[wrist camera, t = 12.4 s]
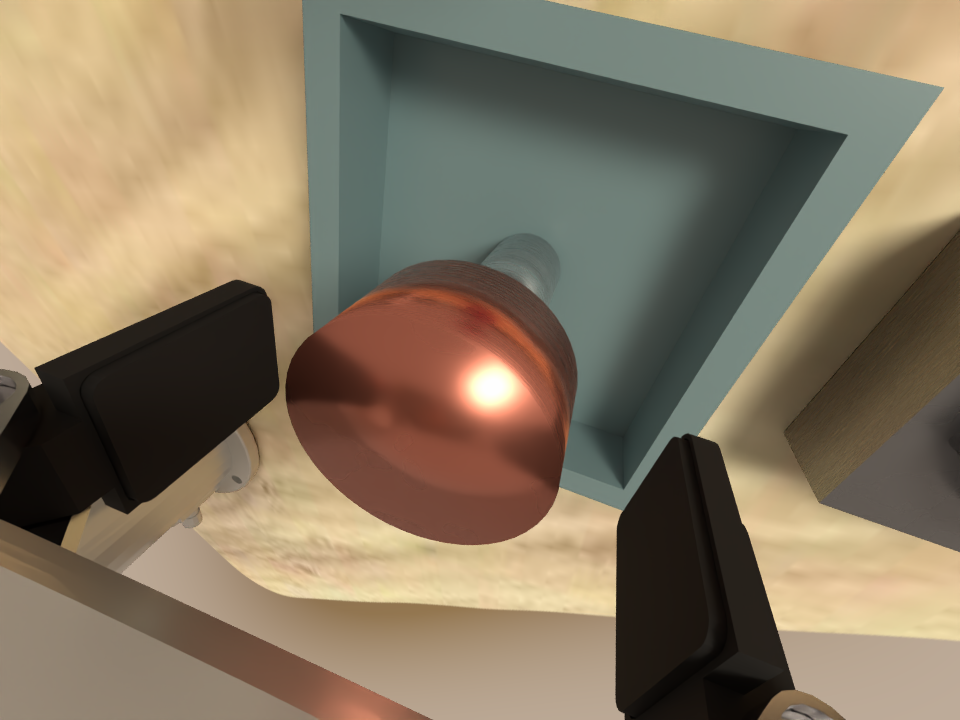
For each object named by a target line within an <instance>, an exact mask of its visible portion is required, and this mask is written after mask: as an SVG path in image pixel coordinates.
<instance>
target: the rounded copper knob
mask: <svg viewBox="0 0 960 720" xmlns="http://www.w3.org/2000/svg"><path fill="white" fill-rule="evenodd" d="M560 272H561V268H560V261H559V258H558V255H557V253H556V251H555V250H554V248H553V247H552V246H551V245H550V244H549V243H548V242H547V241H546V240H544V239H543V238H541V237H539V236H536V235H533V234H528V233H520V234H515V235H512V236H509V237H507V238H506V239H504V240H503V241H502V242H501V243H499V245H498V246H497V247H496V248H495V249H494V250H493V251H492V252H491V253H490V255H489V256H488V257H487V258H486V259H485V260H484V261H483V262H482V263H481V264H476V263H472V262H468V261H460V260H432V261H426V262H421V263H418V264H414V265H411V266H408V267H406V268H404V269H402V270H400V271H398V272H396V273H395V274H393V275H392V276H391V277H389V278H388V279H386V280H385V281H384V282H382V283H381V284H380V285H378V286H377V287H376V288H374V289H373V290H372V291H370V292H369V293H368V294H366V295H365V296H364V297H362V298H361V299H359V300H358V301H357V302H355V303H354V304H353V305H351V306H350V307H349V308H347V309H346V310H345V311H343V312H342V313H341V314H339V315H338V316H336V317H335V318H334V319H332V320H331V321H330V322H328V323H327V324H326V325H324V326H323V327H322V328H320V329H319V330H318V331H316V332H315V333H314V334H312V335H311V336H310V337H308V338H307V339H306V340H305V341H304V342H303V344H302V345H301V346H300V347H299V348H298V349H297V351H296V353H295V355H294V356H293V358H292V360H291V363H290V366H289V369H288V372H287V378H286V402H287V408H288V413H289V416H290V419H291V423H292V426H293V428H294V430H295V432H296V435H297V437H298V439H299V441H300V443H301V444H302V446H303V448H304V450H305V451H306V453H307V454H308V456H309V457H310V459H311V460H312V461H313V463H314V464H315V465H316V467H317V468H318V469H319V470H320V471H321V473H322V474H323V475H324V476H325V477H326V478H327V479H328V480H329V481H330V482H331V483H332V484H333V485H334V486H335V487H336V488H337V489H338V490H339V491H340V492H342V493H343V494H344V495H345V496H346V497H347V498H349V499H350V500H351V501H353V502H354V503H355V504H357V505H358V506H359V507H361V508H362V509H364V510H365V511H367V512H369V513H370V514H372V515H373V516H375V517H377V518H379V519H380V520H382V521H384V522H386V523H388V524H390V525H392V526H394V527H396V528H399V529H401V530H403V531H406V532H409V533H411V534H414V535H417V536H420V537H423V538H427V539H430V540H435V541H439V542H444V543H451V544H459V545H482V544H491V543H497V542H502V541H505V540H508V539H512V538H515V537H517V536H519V535H521V534H523V533H525V532H527V531H528V530H530V529H531V528H533V527H534V526H535V525H537V524H538V523H539V522H540V521H541V520H542V519H543V518H544V517H545V516H546V514H547V513H548V511H549V510H550V508H551V507H552V505H553V503H554V501H555V498H556V496H557V493H558V490H559V484H560V479H561V473H562V468H563V462H564V457H565V451H566V446H567V441H568V435H569V430H570V424H571V419H572V413H573V408H574V403H575V397H576V391H577V385H578V371H577V365H576V358H575V355H574V351H573V348H572V345H571V342H570V340H569V338H568V336H567V334H566V332H565V330H564V328H563V327H562V325H561V323H560V322H559V320H558V319H557V317H556V316H555V315H554V313H553V312H552V311H551V310H550V309H549V307H548V306H549V304H550V301H551V299H552V296H553V294H554V291H555V288H556V286H557V283H558V281H559V278H560Z"/></svg>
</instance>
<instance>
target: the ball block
mask: <svg viewBox="0 0 960 720" xmlns="http://www.w3.org/2000/svg"><path fill="white" fill-rule="evenodd" d="M784 435H785V436H786V438H787V440H788V442H789V444H790V446H791V448H792V450H793V452H794V454H795V456H796V458H797V460H798V462H799V464H800V466H801V468H802V470H803V472H804V474H805V476H806V478H807V480H808V482H809V484H810V486H811V488H812V490H813V492H814V494H815V496H816V498H817V500H818V502H819V503H821V504H824V505H826V506H829V507H832V508H835V509H838V510H841V511H844V512H846V513H849V514H852V515H855V516H858V517H861V518H864V519H867V520H869V521H872V522H875V523H878V524H881V525H884V526H887V527H889V528H892V529H895V530H898V531H901V532H904V533H907V534H910V535H912V536H915V537H918V538H921V539H924V540H927V541H930V542H932V543H935V544H938V545H941V546H944V547H947V548H950V549H953V550H955V551H958V552H960V231H959V232H958V234H957V235H956V236H955V237H954V238H953V239H952V241H951V242H950V243H949V244H948V245H947V246H946V247H945V249H944V250H943V251H942V252H941V253H940V254H939V255H938V257H937V258H936V259H935V260H934V261H933V262H932V263H931V265H930V266H929V267H928V268H927V269H926V270H925V271H924V273H923V274H922V275H921V276H920V277H919V278H918V279H917V281H916V282H915V283H914V284H913V285H912V286H911V287H910V289H909V290H908V291H907V292H906V293H905V294H904V295H903V297H902V298H901V299H900V300H899V301H898V302H897V304H896V305H895V306H894V307H893V308H892V309H891V310H890V312H889V313H888V314H887V315H886V316H885V317H884V318H883V320H882V321H881V322H880V323H879V324H878V325H877V326H876V328H875V329H874V330H873V331H872V332H871V333H870V334H869V336H868V337H867V338H866V339H865V340H864V341H863V342H862V344H861V345H860V346H859V347H858V348H857V349H856V350H855V352H854V353H853V354H852V355H851V356H850V357H849V358H848V360H847V361H846V362H845V363H844V364H843V365H842V367H841V368H840V369H839V370H838V371H837V372H836V373H835V375H834V376H833V377H832V378H831V379H830V380H829V381H828V383H827V384H826V385H825V386H824V387H823V388H822V389H821V391H820V392H819V393H818V394H817V395H816V396H815V397H814V399H813V400H812V401H811V402H810V403H809V404H808V405H807V407H806V408H805V409H804V410H803V411H802V412H801V413H800V415H799V416H798V417H797V418H796V419H795V420H794V421H793V423H792V424H791V425H790V426H789V427H788V428H787V430H786V431H785V432H784Z"/></svg>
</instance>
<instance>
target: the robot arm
mask: <svg viewBox="0 0 960 720" xmlns="http://www.w3.org/2000/svg"><path fill="white" fill-rule="evenodd" d="M35 370H36V372H37V374H38V376H39V378H40V380H41V382H42V384H41V385H38V386H36V387H34V388H32V387H31V385H30V383H29V382H28V380H27V378H26V376H24V375H22V374H20V373H18V372H15V371H10V370H4V369H0V720H432V719H430V718H428V717H425V716H423V715H421V714H419V713H417V712H415V711H413V710H411V709H409V708H406V707H404V706H402V705H400V704H398V703H396V702H394V701H392V700H390V699H387V698H385V697H383V696H381V695H379V694H377V693H375V692H373V691H371V690H368V689H366V688H364V687H362V686H360V685H358V684H356V683H354V682H351V681H349V680H347V679H345V678H343V677H341V676H339V675H337V674H334V673H332V672H330V671H328V670H326V669H324V668H322V667H320V666H317V665H315V664H313V663H311V662H309V661H306V660H305V659H302V658H300V657H298V656H296V655H294V654H292V653H289V652H287V651H285V650H283V649H281V648H279V647H277V646H275V645H272V644H270V643H268V642H266V641H264V640H262V639H259V638H257V637H255V636H253V635H251V634H249V633H247V632H244V631H242V630H240V629H238V628H236V627H234V626H232V625H230V624H227V623H225V622H223V621H221V620H219V619H217V618H214V617H212V616H210V615H208V614H206V613H204V612H201V611H199V610H197V609H195V608H193V607H191V606H189V605H186V604H184V603H182V602H180V601H178V600H176V599H173V598H171V597H169V596H167V595H165V594H163V593H161V592H159V591H156V590H154V589H152V588H150V587H148V586H146V585H143V584H141V583H139V582H137V581H135V580H132V579H130V578H128V577H126V576H124V575H122V574H121V573H122V572H123V571H124V570H125V569H127V567H128V566H130V565H131V564H132V563H133V562H134V561H135V560H136V559H137V558H138V557H139V556H141V555H142V554H143V553H144V552H145V551H146V550H147V549H148V548H149V547H150V546H151V545H152V544H153V543H155V542H156V541H157V539H159V538H160V537H161V536H162V535H163V534H164V533H165V532H166V531H167V530H169V529H170V528H171V527H173V526H175V525H177V524H178V523H182V524H183V526H184V527H185V528H193V527H196V526H197V525H199V524H200V523H201V521H202V514H201V511H200V508H199V506H200V505H201V504H202V503H204V502H205V501H206V500H207V499H208V498H209V497H210V496H211V495H212V494H213V493H214V492H218V493H230V492H234V491H238V490H240V489H242V488H243V487H245V486H246V485H247V484H248V483H249V482H250V481H251V480H252V478H253V477H254V476H255V475H256V473H257V470H258V467H259V455H258V448H257V445H256V443H255V440H254V437H253V435H252V433H251V431H250V429H249V428H248V426H247V424H246V422H247V421H248V420H249V419H250V418H251V417H253V416H254V415H255V414H256V413H257V412H259V411H260V410H261V409H262V408H263V407H265V406H266V405H267V404H268V403H269V402H271V401H272V400H273V399H274V398H275V396H276V395H277V393H278V390H279V377H278V366H277V356H276V346H275V336H274V326H273V315H272V305H271V300H270V298H269V297H268V296H267V294H266V292H265V290H264V289H263V288H261V287H259V286H256V285H253V284H250V283H247V282H244V281H241V280H234V281H231V282H228V283H226V284H224V285H222V286H219V287H217V288H215V289H212V290H210V291H208V292H206V293H203V294H201V295H199V296H197V297H194V298H192V299H190V300H187V301H185V302H183V303H181V304H178V305H176V306H174V307H172V308H169V309H167V310H165V311H163V312H160V313H158V314H156V315H153V316H151V317H149V318H147V319H144V320H142V321H140V322H138V323H135V324H133V325H131V326H129V327H126V328H124V329H122V330H119V331H117V332H115V333H113V334H110V335H108V336H106V337H104V338H101V339H99V340H97V341H94V342H92V343H90V344H88V345H85V346H83V347H81V348H79V349H76V350H74V351H72V352H70V353H67V354H65V355H63V356H60V357H58V358H56V359H54V360H51V361H49V362H47V363H45V364H42V365H40V366H38V367H35ZM615 695H616V705H617V708H618V710H619V711H620V712H623V713H625V720H846V719H844V718H843V717H842V716H841V715H840V714H839V713H838V712H836V711H835V710H834V709H833V708H832V707H831V706H829V705H827V704H826V703H824V702H823V701H821V700H819V699H818V698H816V697H814V696H813V695H810V694H807V693H804V692H801V691H798V690H795V687H794V684H793V680H792V677H791V674H790V671H789V667H788V664H787V661H786V657H785V654H784V651H783V647H782V644H781V641H780V637H779V634H778V631H777V627H776V624H775V621H774V617H773V614H772V611H771V608H770V604H769V601H768V598H767V594H766V591H765V588H764V584H763V581H762V578H761V574H760V571H759V568H758V565H757V561H756V558H755V555H754V551H753V548H752V545H751V541H750V538H749V535H748V532H747V530H746V528H745V526H744V525H743V524H742V522H741V518H740V515H739V512H738V508H737V505H736V501H735V498H734V495H733V491H732V488H731V484H730V481H729V478H728V474H727V471H726V467H725V464H724V461H723V457H722V454H721V451H720V448H719V446H718V444H717V443H715V442H712V441H709V440H706V439H703V438H701V437H698V436H695V435H692V434H689V433H687V434H684V435H683V436H682V437H681V438H679V437H673V438H671V440H670V441H669V442H668V444H667V445H666V447H665V448H664V450H663V451H662V453H661V454H660V456H659V457H658V459H657V460H656V462H655V463H654V465H653V466H652V468H651V469H650V471H649V472H648V474H647V476H646V477H645V479H644V480H643V482H642V483H641V485H640V486H639V488H638V489H637V491H636V492H635V494H634V495H633V497H632V498H631V500H630V501H629V503H628V504H627V506H626V507H625V509H624V510H623V512H622V513H621V515H620V518H619V521H618V525H617V566H616V694H615Z"/></svg>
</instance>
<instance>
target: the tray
mask: <svg viewBox="0 0 960 720" xmlns="http://www.w3.org/2000/svg"><path fill="white" fill-rule="evenodd" d="M302 8H303V37H304V66H305V95H306V125H307V154H308V183H309V213H310V242H311V271H312V300H313V330H314V333H315V332H316V331H318V330H319V329H320V328H322V327H323V326H324V325H326V324H327V323H328V322H330V321H331V320H332V319H334V318H335V317H336V316H338V315H339V314H341V313H342V312H343V311H345V310H346V309H347V308H349V307H350V306H351V305H353V304H354V303H355V302H357V301H358V300H359V299H361V298H362V297H364V296H365V295H366V294H368V293H369V292H370V291H372V290H373V289H374V288H376V287H377V286H378V285H380V284H381V283H382V282H384V281H385V280H386V279H388V278H389V277H391V276H392V275H393V274H395V273H396V272H398V271H400V270H402V269H404V268H406V267H408V266H411V265H414V264H418V263H421V262H426V261H432V260H460V261H468V262H472V263H476V264H481V263H482V262H483V261H484V260H485V259H486V258H487V257H488V256H489V255H490V253H491V252H492V251H493V250H494V249H495V248H496V247H497V246H498V245H499V243H501V242H502V241H503V240H504V239H506V238H507V237H509V236H512V235H515V234H520V233H528V234H533V235H536V236H539V237H541V238H543V239H544V240H546V241H547V242H548V243H549V244H550V245H551V246H552V247H553V248H554V250H555V251H556V253H557V255H558V258H559V261H560V268H561V272H560V278H559V281H558V283H557V286H556V288H555V291H554V294H553V296H552V299H551V301H550V304H549V306H548V307H549V309H550V310H551V311H552V312H553V313H554V315H555V316H556V317H557V319H558V320H559V322H560V323H561V325H562V327H563V328H564V330H565V332H566V334H567V336H568V338H569V340H570V342H571V345H572V348H573V351H574V355H575V358H576V365H577V371H578V385H577V391H576V397H575V403H574V408H573V413H572V419H571V424H570V430H569V435H568V441H567V446H566V451H565V457H564V462H563V468H562V473H561V479H560V484H559V487H561V488H564V489H566V490H569V491H572V492H574V493H577V494H580V495H582V496H585V497H588V498H590V499H593V500H596V501H598V502H601V503H604V504H606V505H609V506H612V507H614V508H617V509H620V510H624V509H625V507H626V506H627V504H628V503H629V501H630V500H631V498H632V497H633V495H634V494H635V492H636V491H637V489H638V488H639V486H640V485H641V483H642V482H643V480H644V479H645V477H646V476H647V474H648V472H649V471H650V469H651V468H652V466H653V465H654V463H655V462H656V460H657V459H658V457H659V456H660V454H661V453H662V451H663V450H664V448H665V447H666V445H667V444H668V442H669V441H670V440H671V438H673V437H679V438H681V437H682V436H683V435H684V434H687V433H689V434H692V435H695V436H698V434H699V433H700V431H701V430H702V429H703V427H704V426H705V424H706V423H707V421H708V420H709V419H710V417H711V416H712V414H713V413H714V412H715V410H716V409H717V407H718V406H719V405H720V403H721V402H722V400H723V399H724V397H725V396H726V395H727V393H728V392H729V390H730V389H731V388H732V386H733V385H734V383H735V382H736V381H737V379H738V378H739V376H740V375H741V374H742V372H743V371H744V369H745V368H746V366H747V365H748V364H749V362H750V361H751V359H752V358H753V357H754V355H755V354H756V352H757V351H758V350H759V348H760V347H761V345H762V344H763V343H764V341H765V340H766V338H767V337H768V335H769V334H770V333H771V331H772V330H773V328H774V327H775V326H776V324H777V323H778V321H779V320H780V319H781V317H782V316H783V314H784V313H785V312H786V310H787V309H788V307H789V306H790V304H791V303H792V302H793V300H794V299H795V297H796V296H797V295H798V293H799V292H800V290H801V289H802V288H803V286H804V285H805V283H806V282H807V280H808V279H809V278H810V276H811V275H812V273H813V272H814V271H815V269H816V268H817V266H818V265H819V264H820V262H821V261H822V259H823V258H824V257H825V255H826V254H827V252H828V251H829V249H830V248H831V247H832V245H833V244H834V242H835V241H836V240H837V238H838V237H839V235H840V234H841V233H842V231H843V230H844V228H845V227H846V226H847V224H848V223H849V221H850V220H851V218H852V217H853V216H854V214H855V213H856V211H857V210H858V209H859V207H860V206H861V204H862V203H863V202H864V200H865V199H866V197H867V196H868V194H869V193H870V192H871V190H872V189H873V187H874V186H875V185H876V183H877V182H878V180H879V179H880V178H881V176H882V175H883V173H884V172H885V171H886V169H887V168H888V166H889V165H890V163H891V162H892V161H893V159H894V158H895V156H896V155H897V154H898V152H899V151H900V149H901V148H902V147H903V145H904V144H905V142H906V141H907V140H908V138H909V137H910V135H911V134H912V132H913V131H914V130H915V128H916V127H917V125H918V124H919V123H920V121H921V120H922V118H923V117H924V116H925V114H926V113H927V111H928V110H929V109H930V107H931V106H932V104H933V103H934V101H935V100H936V99H937V97H938V96H939V94H940V93H941V92H942V90H943V89H944V87H939V86H934V85H930V84H925V83H921V82H916V81H911V80H907V79H902V78H898V77H893V76H889V75H884V74H879V73H875V72H870V71H866V70H861V69H857V68H852V67H847V66H843V65H838V64H834V63H829V62H825V61H820V60H815V59H811V58H806V57H802V56H797V55H792V54H788V53H783V52H779V51H774V50H770V49H765V48H760V47H756V46H751V45H747V44H742V43H738V42H733V41H728V40H724V39H719V38H715V37H710V36H706V35H701V34H696V33H692V32H687V31H683V30H678V29H674V28H669V27H664V26H660V25H655V24H651V23H646V22H641V21H637V20H632V19H628V18H623V17H619V16H614V15H609V14H605V13H600V12H596V11H591V10H587V9H582V8H577V7H573V6H568V5H564V4H559V3H555V2H550V1H545V0H302Z"/></svg>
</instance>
